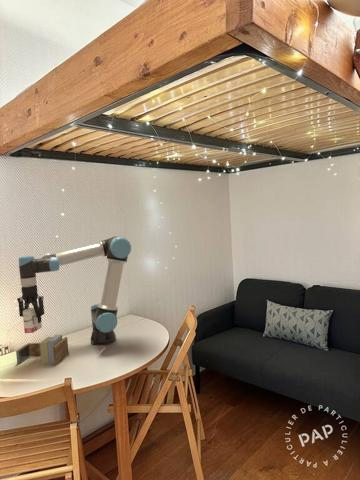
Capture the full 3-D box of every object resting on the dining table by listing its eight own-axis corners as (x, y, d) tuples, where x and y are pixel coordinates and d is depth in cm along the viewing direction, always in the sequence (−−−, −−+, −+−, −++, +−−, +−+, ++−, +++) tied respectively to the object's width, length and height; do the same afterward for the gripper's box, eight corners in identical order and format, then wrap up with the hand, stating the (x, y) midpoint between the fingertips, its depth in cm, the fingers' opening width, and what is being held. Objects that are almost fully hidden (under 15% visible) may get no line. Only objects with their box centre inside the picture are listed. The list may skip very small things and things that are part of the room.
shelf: (68, 356, 181) (67, 337, 180) (57, 367, 168) (55, 346, 168) (29, 357, 184) (27, 337, 183) (15, 367, 171) (13, 347, 170)
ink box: (33, 333, 169) (30, 310, 169) (24, 333, 170) (21, 310, 170) (42, 327, 178) (40, 305, 177) (34, 327, 179) (31, 306, 178)
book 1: (57, 356, 179) (55, 336, 178) (49, 363, 171) (47, 342, 170) (50, 356, 180) (48, 337, 179) (41, 363, 171) (39, 343, 170)
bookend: (30, 356, 181) (28, 344, 181) (20, 364, 172) (18, 350, 172) (27, 356, 181) (26, 344, 181) (17, 364, 173) (16, 351, 172)
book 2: (64, 356, 179) (62, 334, 178) (55, 363, 170) (53, 341, 169) (57, 356, 179) (55, 334, 178) (49, 363, 170) (47, 341, 170)
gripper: (49, 283, 175) (53, 325, 177) (17, 284, 177) (21, 327, 179) (41, 286, 168) (46, 330, 170) (8, 287, 170) (13, 331, 171)
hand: (33, 328), depth 174 cm, fingers closed on ink box, 5 cm apart
